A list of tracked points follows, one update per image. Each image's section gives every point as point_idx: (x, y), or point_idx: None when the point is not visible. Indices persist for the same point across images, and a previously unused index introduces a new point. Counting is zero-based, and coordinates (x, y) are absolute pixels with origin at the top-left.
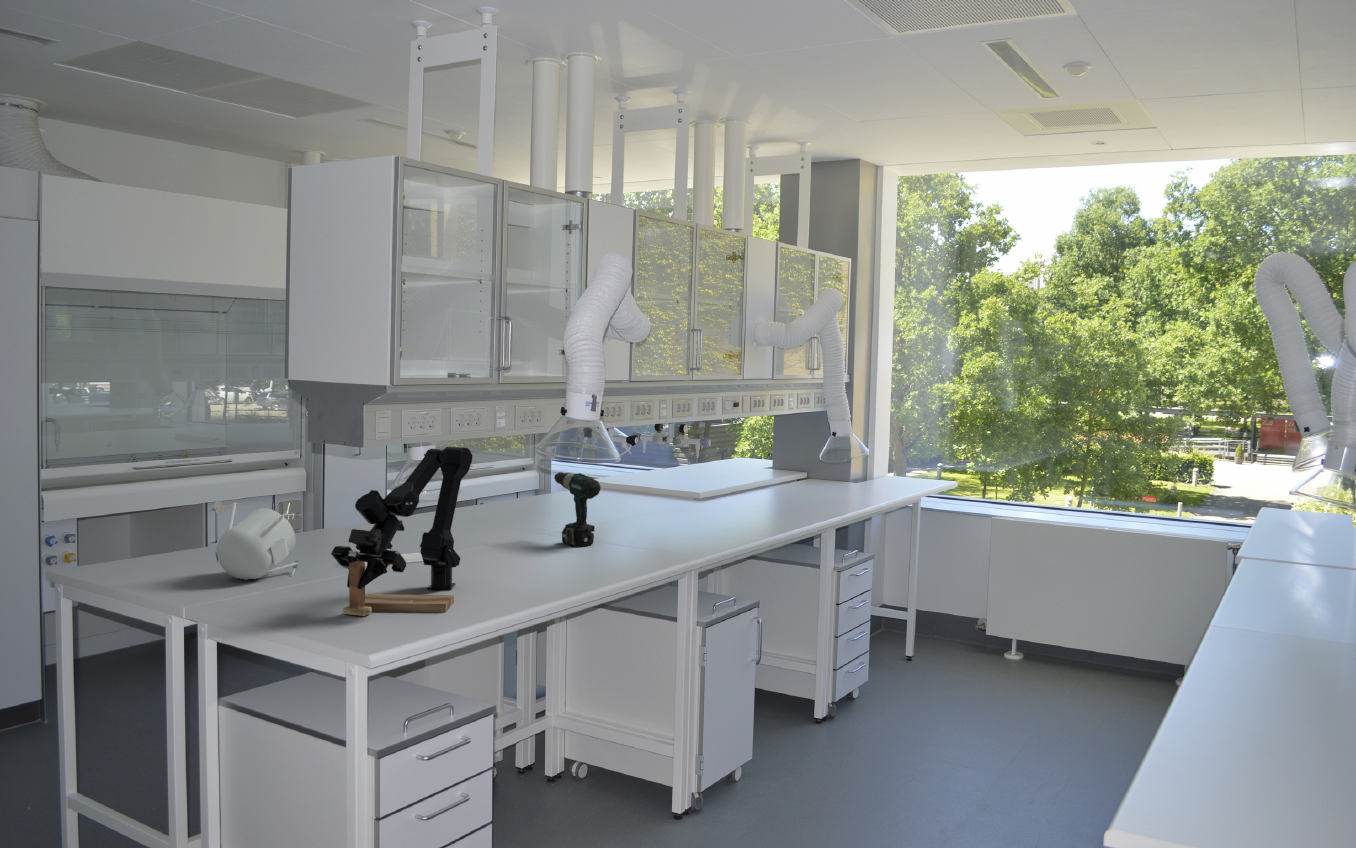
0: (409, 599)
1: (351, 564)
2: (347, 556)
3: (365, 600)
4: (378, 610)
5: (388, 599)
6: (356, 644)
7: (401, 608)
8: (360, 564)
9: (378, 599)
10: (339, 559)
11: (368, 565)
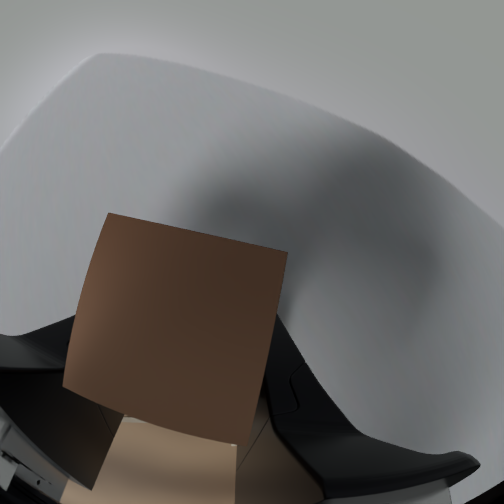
0: None
1: (234, 243)
2: (448, 466)
3: (229, 447)
4: None
5: (137, 468)
6: (122, 75)
7: None
8: (96, 277)
9: (179, 468)
10: (480, 502)
11: (41, 359)
